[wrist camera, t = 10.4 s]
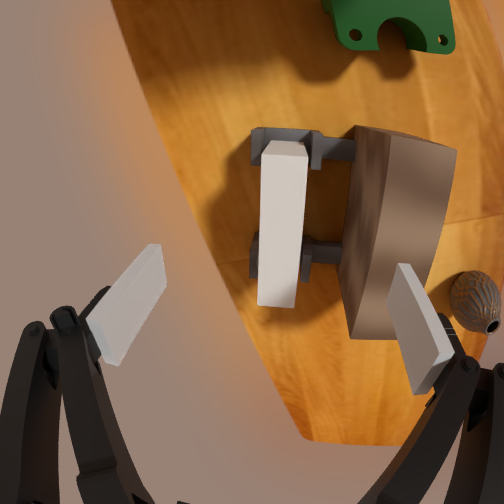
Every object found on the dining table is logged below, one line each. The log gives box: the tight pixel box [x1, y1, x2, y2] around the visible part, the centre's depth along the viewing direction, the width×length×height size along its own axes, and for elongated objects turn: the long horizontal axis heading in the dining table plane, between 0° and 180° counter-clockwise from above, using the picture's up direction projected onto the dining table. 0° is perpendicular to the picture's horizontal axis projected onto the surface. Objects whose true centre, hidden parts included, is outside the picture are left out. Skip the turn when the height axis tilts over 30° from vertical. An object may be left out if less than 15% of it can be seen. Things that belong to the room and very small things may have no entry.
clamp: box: [322, 0, 455, 55], centre depth 17 cm, size 12×6×9 cm, turn 95°
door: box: [257, 140, 308, 308], centre depth 25 cm, size 12×4×9 cm, turn 179°
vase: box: [450, 270, 501, 335], centre depth 27 cm, size 7×7×9 cm
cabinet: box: [249, 125, 457, 340], centre depth 24 cm, size 16×14×11 cm
